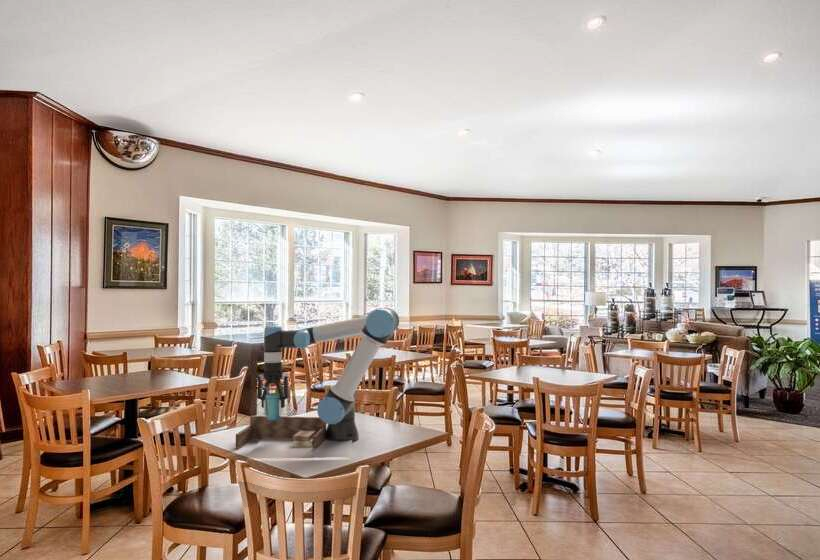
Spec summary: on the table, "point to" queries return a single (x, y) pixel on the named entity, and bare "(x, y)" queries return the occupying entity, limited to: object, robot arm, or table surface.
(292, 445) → the offcut bottom
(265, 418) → the tray
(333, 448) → the table surface
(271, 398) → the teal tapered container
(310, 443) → the offcut middle
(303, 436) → the offcut top
